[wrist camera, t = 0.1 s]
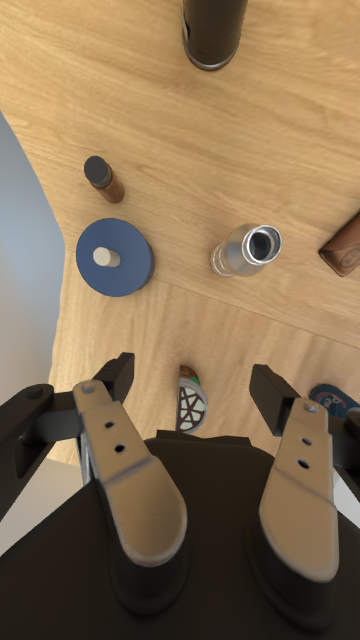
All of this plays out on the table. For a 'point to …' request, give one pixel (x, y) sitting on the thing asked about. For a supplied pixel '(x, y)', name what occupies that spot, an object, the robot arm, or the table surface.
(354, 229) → the sunglasses case
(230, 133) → the table surface
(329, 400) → the soda can
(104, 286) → the lid
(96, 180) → the spice bottle
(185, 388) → the food container
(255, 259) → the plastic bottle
